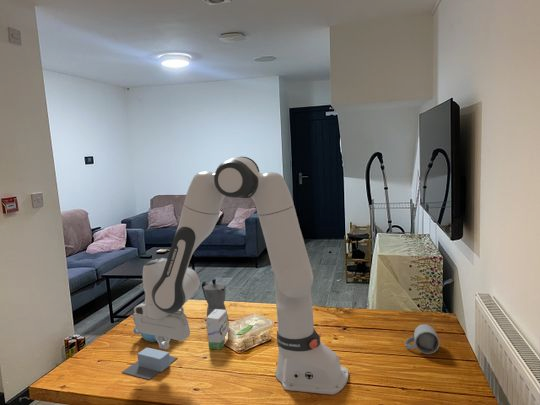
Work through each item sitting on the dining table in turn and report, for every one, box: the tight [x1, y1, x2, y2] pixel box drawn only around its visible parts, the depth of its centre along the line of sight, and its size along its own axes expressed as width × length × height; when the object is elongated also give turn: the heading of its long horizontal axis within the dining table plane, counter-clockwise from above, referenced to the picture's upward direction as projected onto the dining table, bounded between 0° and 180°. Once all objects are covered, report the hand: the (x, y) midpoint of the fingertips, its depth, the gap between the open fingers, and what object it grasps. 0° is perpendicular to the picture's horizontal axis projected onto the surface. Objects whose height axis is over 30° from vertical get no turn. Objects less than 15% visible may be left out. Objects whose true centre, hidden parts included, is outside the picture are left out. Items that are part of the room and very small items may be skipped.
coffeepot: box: [201, 278, 229, 320], centre depth 171 cm, size 15×9×18 cm, turn 44°
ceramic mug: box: [404, 323, 441, 355], centre depth 139 cm, size 11×8×8 cm
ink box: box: [205, 309, 229, 350], centre depth 151 cm, size 8×5×12 cm, turn 164°
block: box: [137, 347, 172, 373], centre depth 138 cm, size 4×4×10 cm
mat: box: [121, 355, 178, 381], centre depth 140 cm, size 12×14×1 cm
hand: (164, 347), depth 135 cm, fingers closed
